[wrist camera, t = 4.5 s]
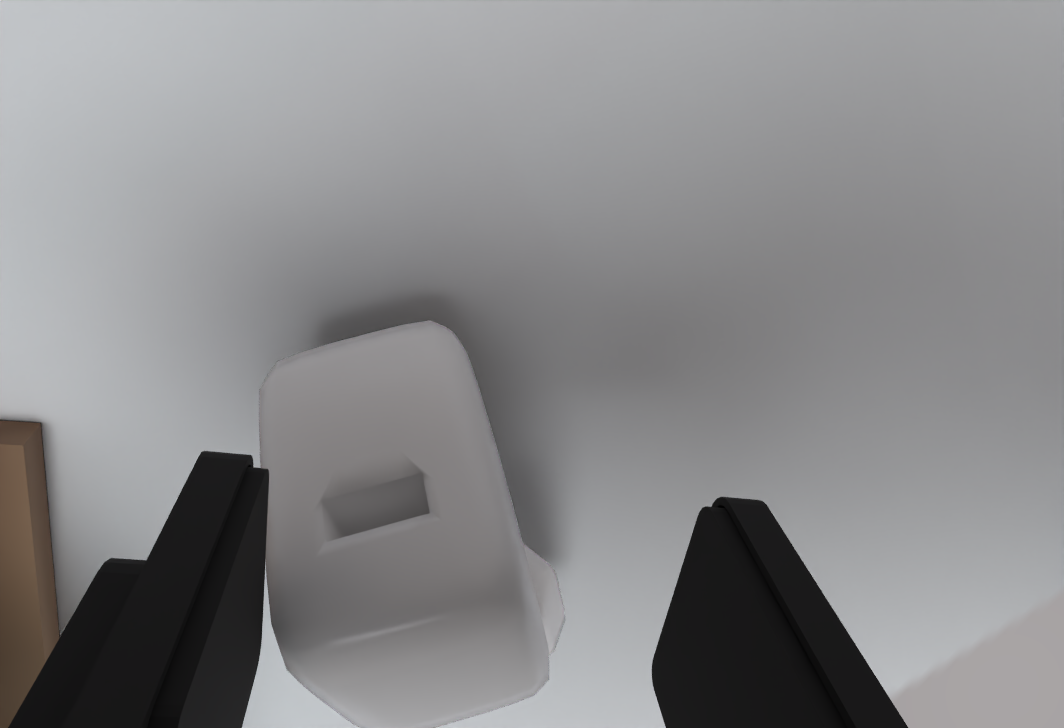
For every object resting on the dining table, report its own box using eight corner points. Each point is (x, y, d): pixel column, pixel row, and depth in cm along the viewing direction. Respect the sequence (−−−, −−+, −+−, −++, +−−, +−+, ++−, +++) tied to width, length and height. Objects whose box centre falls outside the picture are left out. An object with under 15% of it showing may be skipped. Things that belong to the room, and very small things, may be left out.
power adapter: (542, 537, 21) (602, 748, 18) (381, 583, 20) (412, 804, 17) (479, 284, 13) (565, 587, 10) (214, 354, 12) (216, 688, 9)
